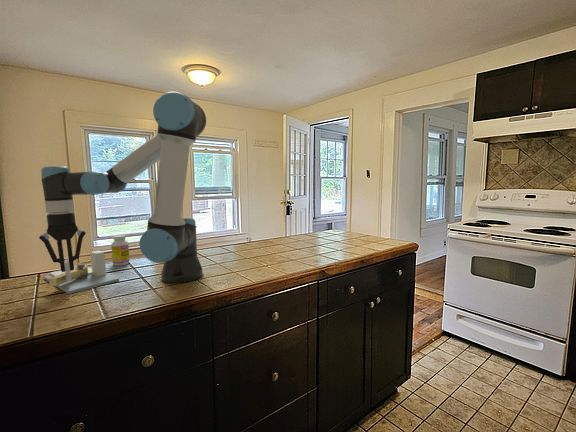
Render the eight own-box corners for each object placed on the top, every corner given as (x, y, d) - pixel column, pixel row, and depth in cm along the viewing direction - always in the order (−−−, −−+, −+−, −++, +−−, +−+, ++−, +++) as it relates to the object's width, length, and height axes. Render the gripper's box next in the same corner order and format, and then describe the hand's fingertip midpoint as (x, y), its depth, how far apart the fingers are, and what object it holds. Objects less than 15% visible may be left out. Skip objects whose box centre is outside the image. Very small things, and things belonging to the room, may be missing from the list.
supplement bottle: (122, 266, 131) (120, 237, 129) (109, 265, 132) (106, 237, 130) (133, 262, 137) (131, 234, 136) (120, 261, 139) (118, 234, 137)
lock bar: (81, 272, 115) (80, 266, 115) (90, 273, 114) (90, 266, 114) (47, 285, 101) (47, 278, 101) (58, 286, 101) (57, 278, 100)
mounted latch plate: (119, 280, 112) (117, 254, 111) (68, 294, 99) (65, 264, 98) (90, 268, 128) (88, 245, 127) (44, 278, 115) (41, 253, 114)
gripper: (83, 210, 108) (90, 273, 111) (36, 213, 100) (45, 281, 103) (84, 212, 102) (91, 278, 105) (34, 215, 94) (44, 287, 97)
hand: (68, 280), depth 104 cm, fingers closed
